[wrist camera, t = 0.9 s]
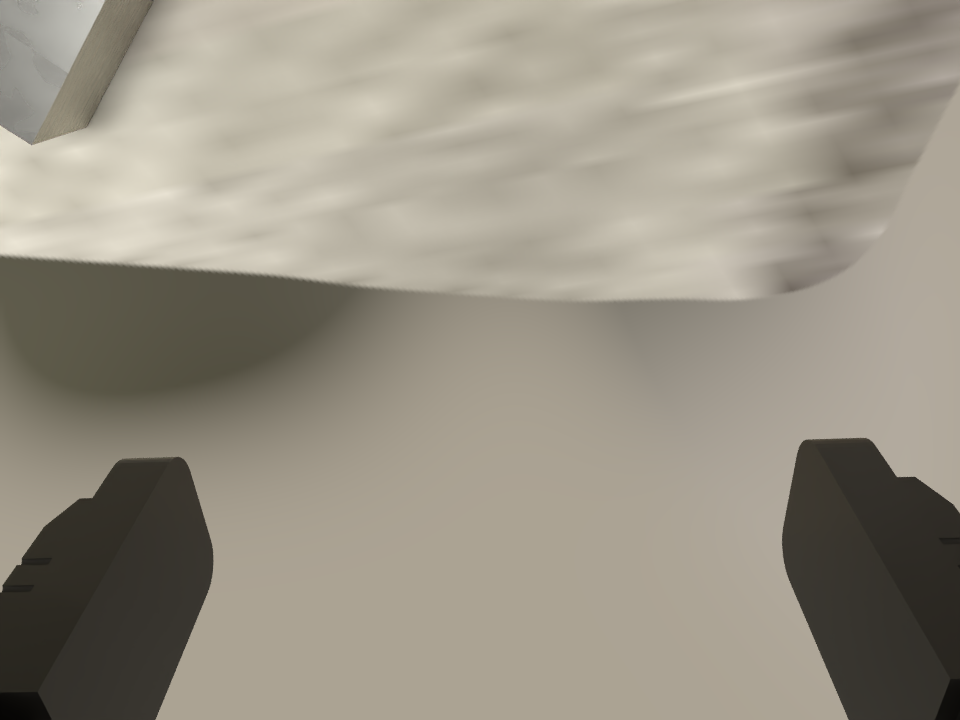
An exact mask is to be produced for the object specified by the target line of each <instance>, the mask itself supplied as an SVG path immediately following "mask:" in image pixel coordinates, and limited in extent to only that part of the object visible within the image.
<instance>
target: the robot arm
mask: <svg viewBox="0 0 960 720" xmlns="http://www.w3.org/2000/svg"><path fill="white" fill-rule="evenodd" d="M782 546H783V547H782V548H783V558H784V564H785V568H786V572H787V575H788V578H789V581H790V583H791V585H792V588H793V590H794V592H795V595H796V597H797V600H798V601H799V604H800V606H801V609H802V611H803V614H804V616H805V618H806V621H807V623H808V625H809V627H810V630H811V632H812V635H813V637H814V639H815V642H816V644H817V646H818V649H819V651H820V653H821V656H822V658H823V661H824V663H825V665H826V668H827V670H828V672H829V674H830V677H831V679H832V681H833V684H834V686H835V689H836V691H837V693H838V696H839V698H840V700H841V703H842V705H843V707H844V710H845V712H846V714H847V717H848V719H849V720H960V513H959V512H958V510H957V509H956V508H955V506H954V505H953V504H952V503H950V502H949V501H948V500H946V499H945V498H944V497H942V496H941V495H939V494H938V493H937V492H935V491H934V490H932V489H931V488H930V487H928V486H927V485H926V484H924V483H923V482H921V481H920V480H919V479H917V478H916V477H896V475H895V474H894V472H893V471H892V469H891V468H890V466H889V465H888V464H887V462H886V461H885V459H884V458H883V456H882V455H881V454H880V452H879V450H878V449H877V448H876V446H875V445H874V443H873V442H872V441H870V440H869V439H867V438H849V439H847V438H846V439H815V440H814V439H813V440H805V441H803V442H802V443H801V445H800V447H799V450H798V453H797V458H796V463H795V468H794V474H793V480H792V484H791V489H790V495H789V500H788V505H787V510H786V516H785V521H784V527H783V534H782ZM212 573H213V548H212V543H211V539H210V536H209V533H208V529H207V526H206V523H205V519H204V516H203V512H202V509H201V506H200V502H199V499H198V496H197V492H196V489H195V486H194V482H193V479H192V476H191V472H190V469H189V467H188V465H187V463H186V462H185V460H184V459H182V458H180V457H163V458H131V459H122V460H120V461H118V462H117V463H116V464H115V465H114V467H113V468H112V470H111V471H110V473H109V474H108V475H107V477H106V478H105V480H104V481H103V483H102V484H101V486H100V487H99V489H98V491H97V492H96V494H95V495H94V497H93V498H87V499H86V498H84V499H79V500H77V501H76V502H75V503H74V504H72V505H71V506H70V507H69V508H67V509H66V510H65V511H63V513H61V514H60V515H59V516H57V517H56V518H55V519H53V520H52V521H51V522H50V523H48V524H47V525H46V526H45V527H44V528H43V529H42V531H41V532H40V534H39V535H38V536H37V538H36V539H35V541H34V542H33V543H32V545H31V546H30V548H29V549H28V550H27V552H26V553H25V555H24V556H23V557H22V564H21V565H17V566H16V567H15V569H14V570H13V572H12V573H11V574H10V576H9V577H8V579H7V580H6V582H5V583H4V584H3V591H2V593H0V720H155V719H156V717H157V715H158V712H159V710H160V707H161V705H162V702H163V700H164V697H165V695H166V693H167V690H168V688H169V685H170V683H171V680H172V678H173V676H174V673H175V671H176V668H177V666H178V663H179V661H180V658H181V656H182V654H183V651H184V649H185V646H186V644H187V642H188V639H189V637H190V634H191V632H192V629H193V627H194V625H195V622H196V620H197V617H198V615H199V612H200V610H201V608H202V605H203V603H204V600H205V598H206V595H207V593H208V590H209V587H210V584H211V579H212Z"/></svg>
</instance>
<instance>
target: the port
mask: <svg viewBox="0 0 960 720" xmlns="http://www.w3.org/2000/svg"><path fill="white" fill-rule="evenodd" d="M152 2H153V0H0V125H1V126H2V127H4V128H5V129H7V130H9V131H10V132H12V133H13V134H15V135H16V136H18V137H20V138H21V139H23V140H24V141H26V142H28V143H29V144H31V145H33V144H37V143H40V142H43V141H46V140H49V139H52V138H55V137H58V136H61V135H64V134H68V133H71V132H74V131H77V130H80V129H83V128H86V127H87V125H88V123H89V121H90V119H91V117H92V116H93V114H94V112H95V110H96V108H97V106H98V104H99V102H100V100H101V99H102V97H103V95H104V93H105V91H106V89H107V87H108V85H109V83H110V82H111V80H112V78H113V76H114V74H115V72H116V70H117V68H118V67H119V65H120V63H121V61H122V59H123V57H124V55H125V53H126V51H127V50H128V48H129V46H130V44H131V42H132V40H133V38H134V36H135V34H136V33H137V31H138V29H139V27H140V25H141V23H142V21H143V19H144V17H145V16H146V14H147V12H148V10H149V8H150V6H151V4H152Z"/></svg>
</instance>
